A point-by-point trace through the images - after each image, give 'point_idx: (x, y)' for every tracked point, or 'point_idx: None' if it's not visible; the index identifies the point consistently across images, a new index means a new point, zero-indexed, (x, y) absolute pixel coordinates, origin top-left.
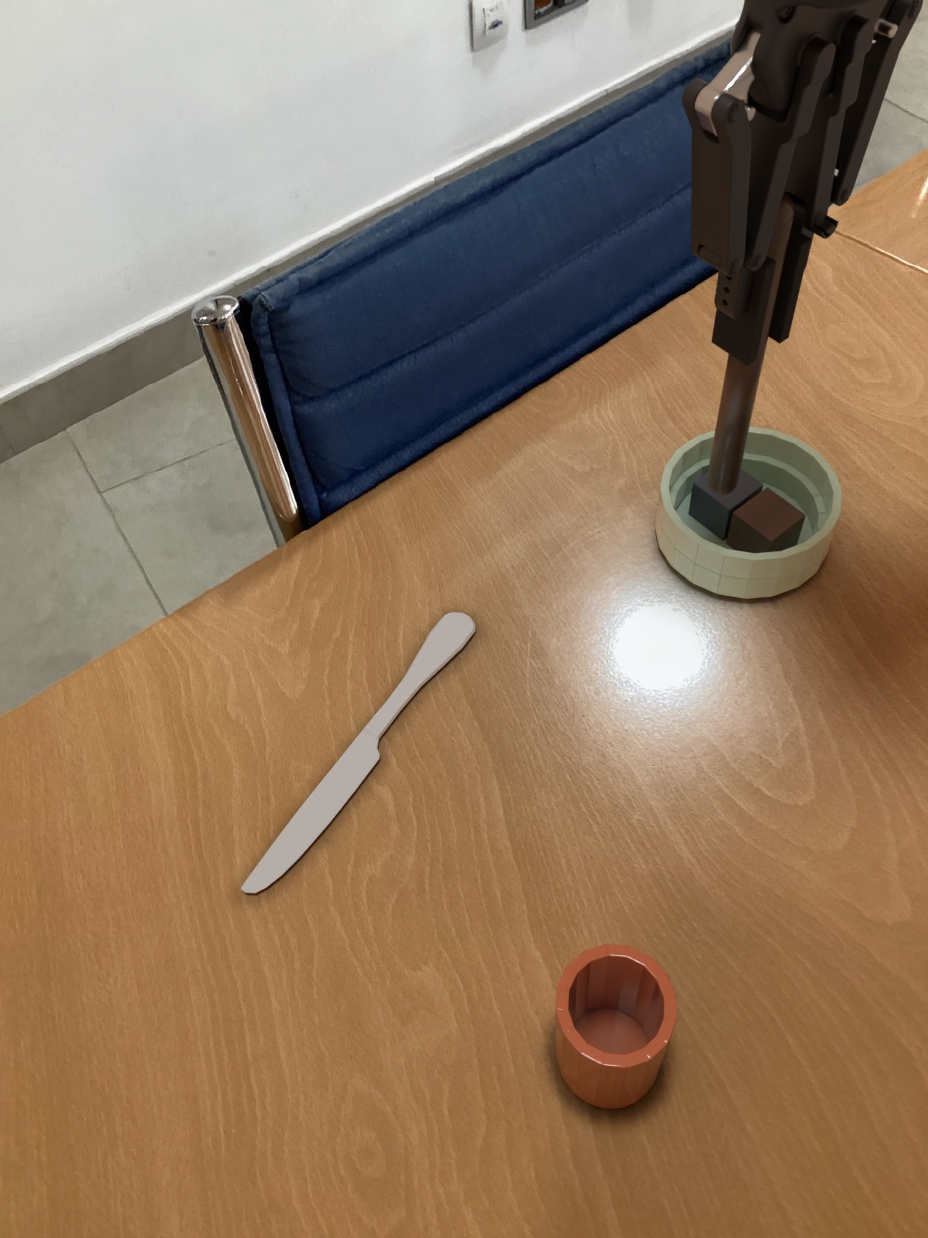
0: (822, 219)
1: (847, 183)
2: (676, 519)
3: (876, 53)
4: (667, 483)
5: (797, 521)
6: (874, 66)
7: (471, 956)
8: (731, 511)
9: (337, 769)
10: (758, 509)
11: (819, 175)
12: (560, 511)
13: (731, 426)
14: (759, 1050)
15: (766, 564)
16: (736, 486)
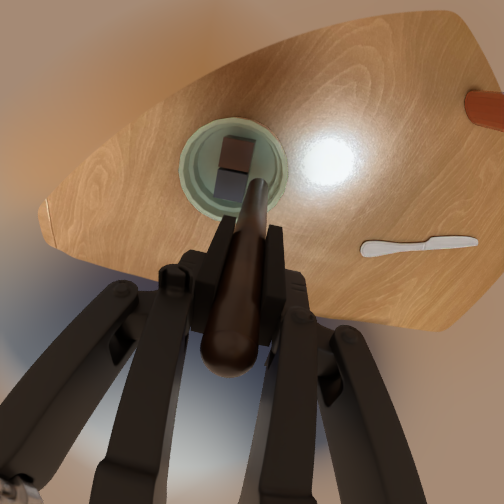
0: (172, 290)
1: (114, 302)
2: (279, 195)
3: (19, 461)
4: None
5: (231, 138)
6: (27, 448)
7: (473, 164)
8: (245, 173)
9: (439, 247)
10: (236, 161)
11: (176, 364)
12: None
13: (266, 204)
14: (452, 59)
15: (274, 136)
16: (229, 181)
